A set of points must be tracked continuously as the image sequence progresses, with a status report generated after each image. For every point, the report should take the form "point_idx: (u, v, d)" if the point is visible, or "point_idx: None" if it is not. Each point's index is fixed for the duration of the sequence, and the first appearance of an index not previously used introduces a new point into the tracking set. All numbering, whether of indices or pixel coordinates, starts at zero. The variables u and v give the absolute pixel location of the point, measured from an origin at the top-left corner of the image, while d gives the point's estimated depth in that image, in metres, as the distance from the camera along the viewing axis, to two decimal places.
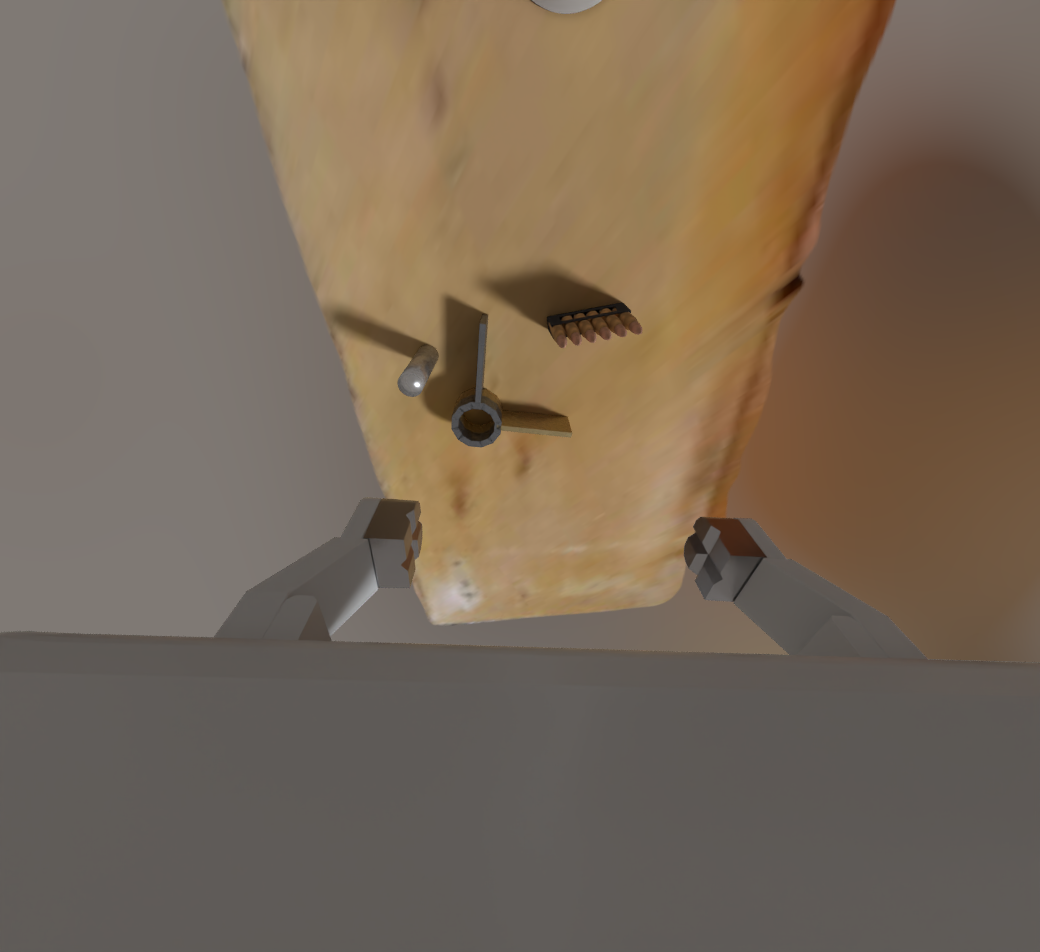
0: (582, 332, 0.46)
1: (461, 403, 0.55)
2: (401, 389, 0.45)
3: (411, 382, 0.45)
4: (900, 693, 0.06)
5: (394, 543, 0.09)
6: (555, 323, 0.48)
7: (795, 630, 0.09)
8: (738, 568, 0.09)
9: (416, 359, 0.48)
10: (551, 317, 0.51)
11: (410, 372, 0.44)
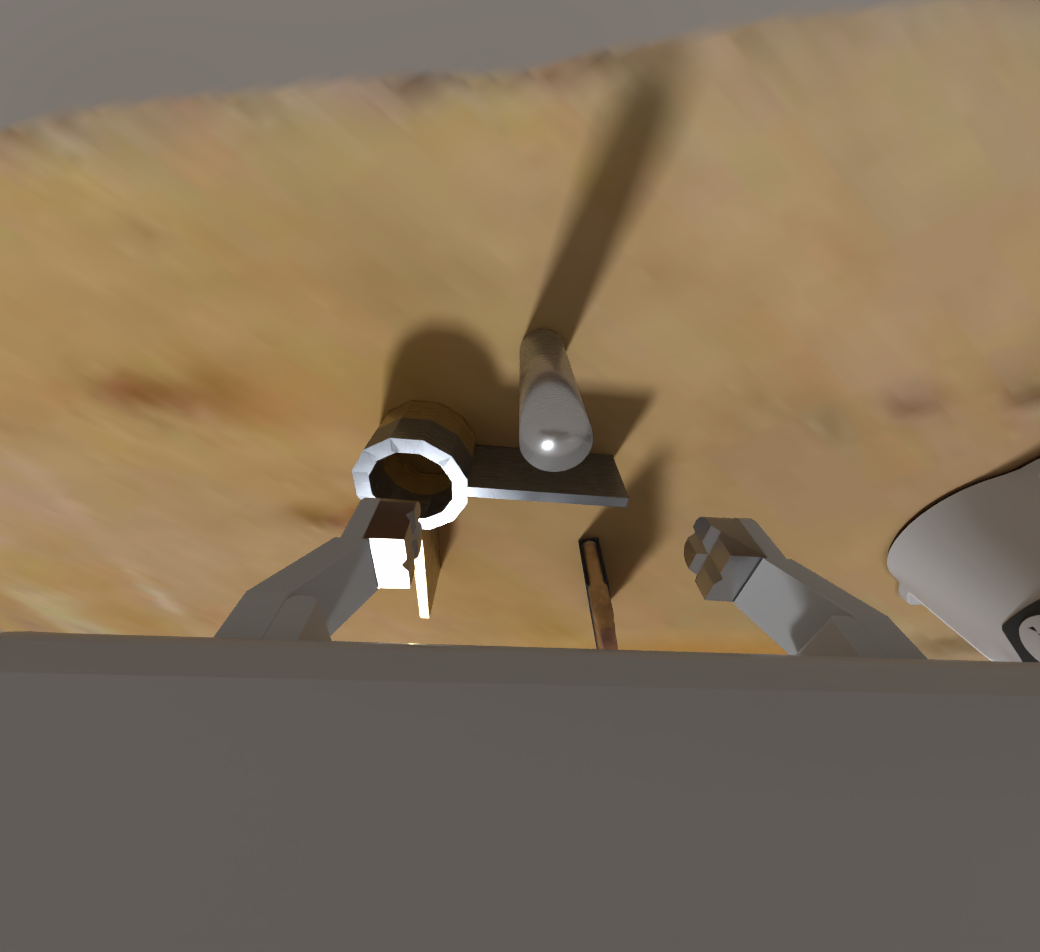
0: None
1: (456, 451, 0.24)
2: (542, 415, 0.14)
3: (564, 445, 0.15)
4: (900, 693, 0.06)
5: (394, 543, 0.09)
6: None
7: (795, 630, 0.09)
8: (738, 568, 0.09)
9: None
10: None
11: (591, 442, 0.15)
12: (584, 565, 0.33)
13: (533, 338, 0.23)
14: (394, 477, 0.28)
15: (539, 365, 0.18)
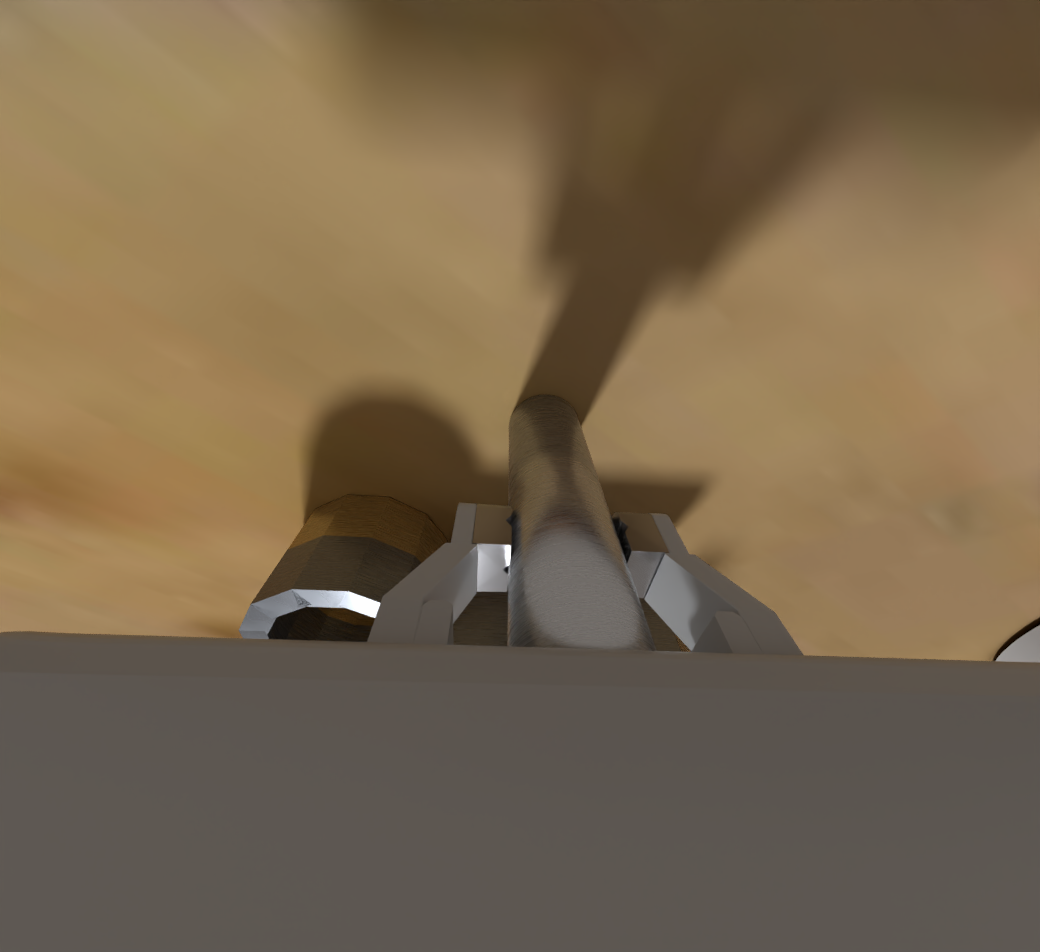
0: None
1: None
2: None
3: None
4: (900, 693, 0.06)
5: (502, 548, 0.09)
6: None
7: (694, 627, 0.09)
8: (642, 564, 0.09)
9: None
10: None
11: None
12: None
13: (531, 417, 0.14)
14: None
15: (545, 504, 0.09)
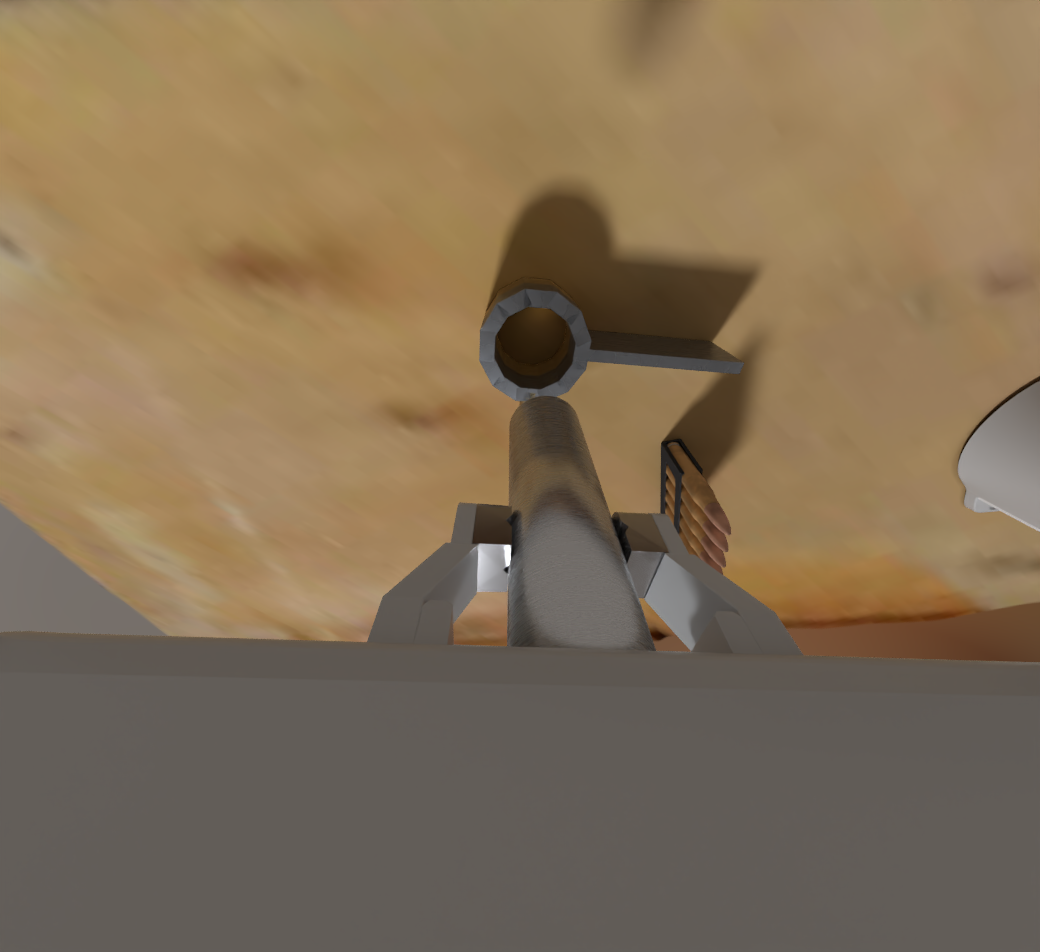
0: None
1: None
2: None
3: None
4: (900, 693, 0.06)
5: (502, 548, 0.09)
6: None
7: (694, 627, 0.09)
8: (642, 564, 0.09)
9: None
10: (684, 447, 0.35)
11: None
12: (674, 459, 0.33)
13: (531, 418, 0.14)
14: (502, 357, 0.28)
15: (546, 505, 0.09)
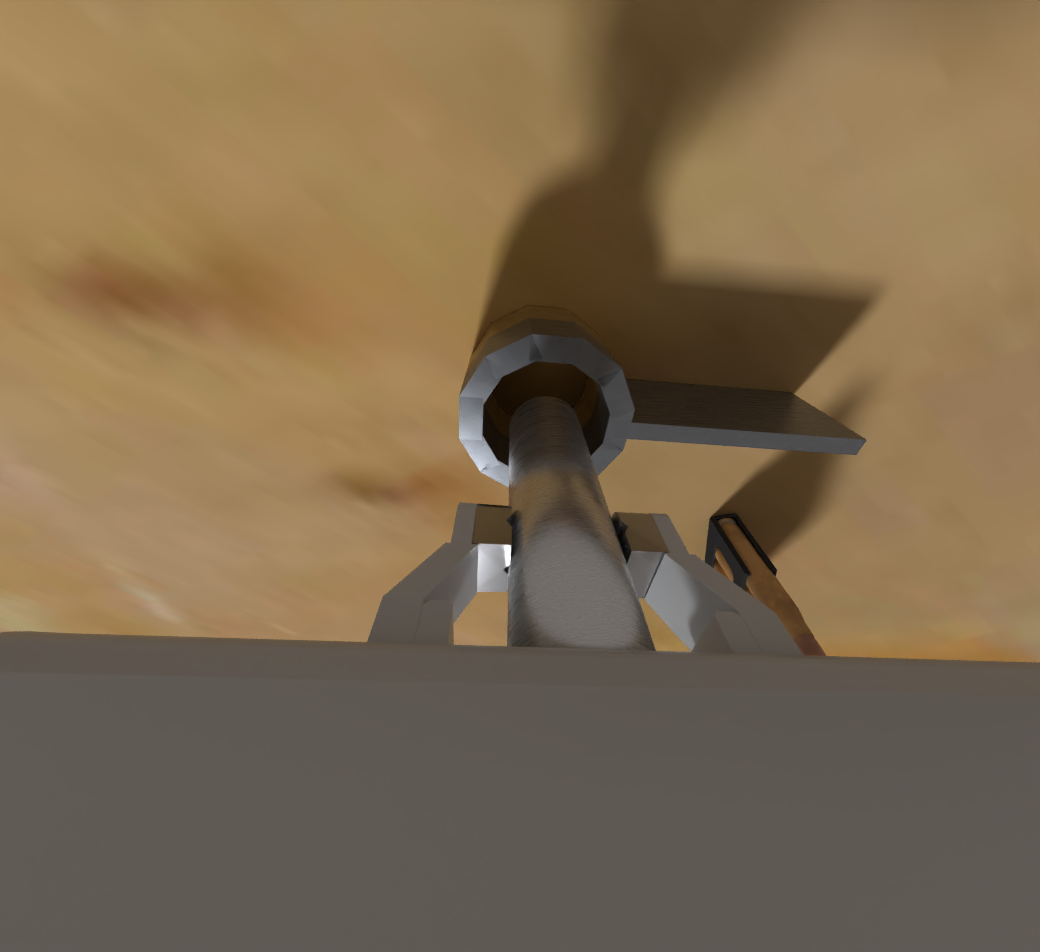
0: None
1: None
2: None
3: None
4: (900, 693, 0.06)
5: (502, 548, 0.09)
6: None
7: (694, 627, 0.09)
8: (642, 564, 0.09)
9: None
10: None
11: None
12: (732, 549, 0.24)
13: (531, 419, 0.14)
14: (495, 421, 0.19)
15: (546, 505, 0.09)
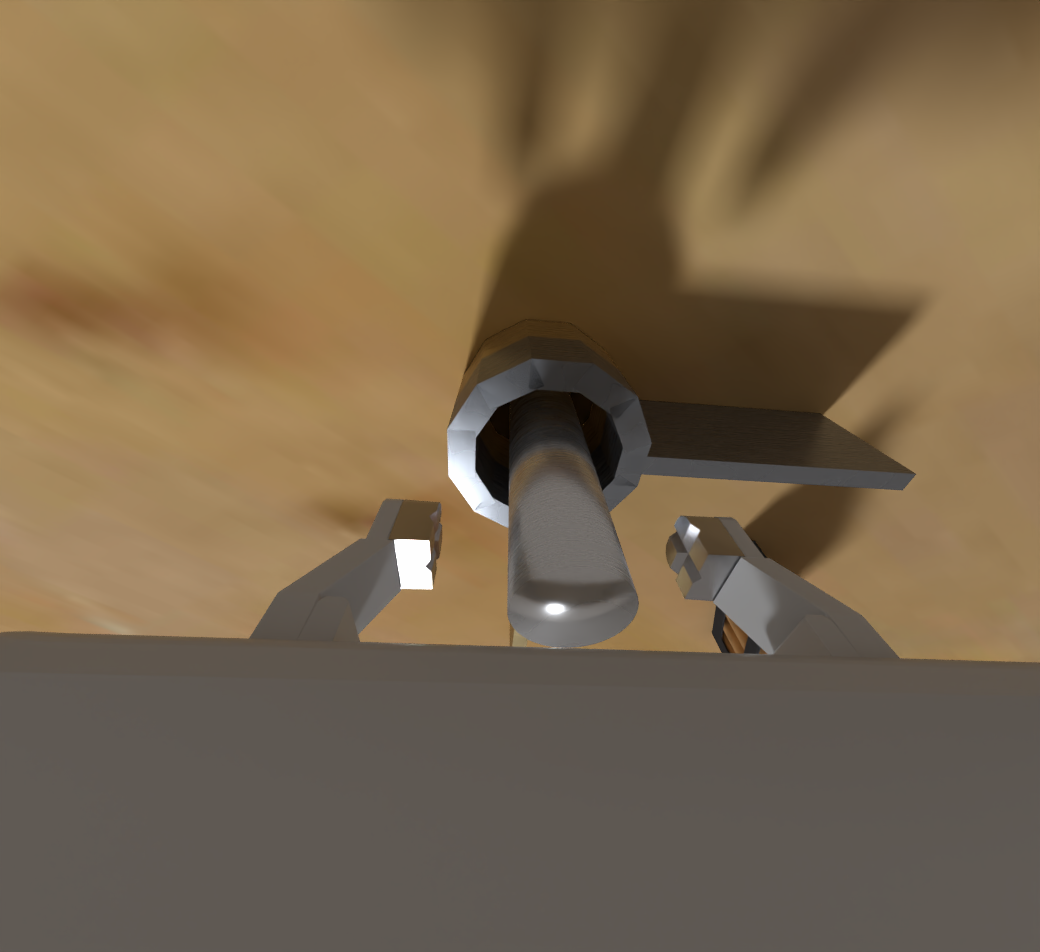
0: None
1: None
2: (548, 578, 0.08)
3: (586, 616, 0.09)
4: (900, 693, 0.06)
5: (419, 544, 0.09)
6: None
7: (772, 629, 0.09)
8: (716, 567, 0.09)
9: None
10: None
11: None
12: None
13: None
14: (491, 449, 0.17)
15: (538, 446, 0.12)
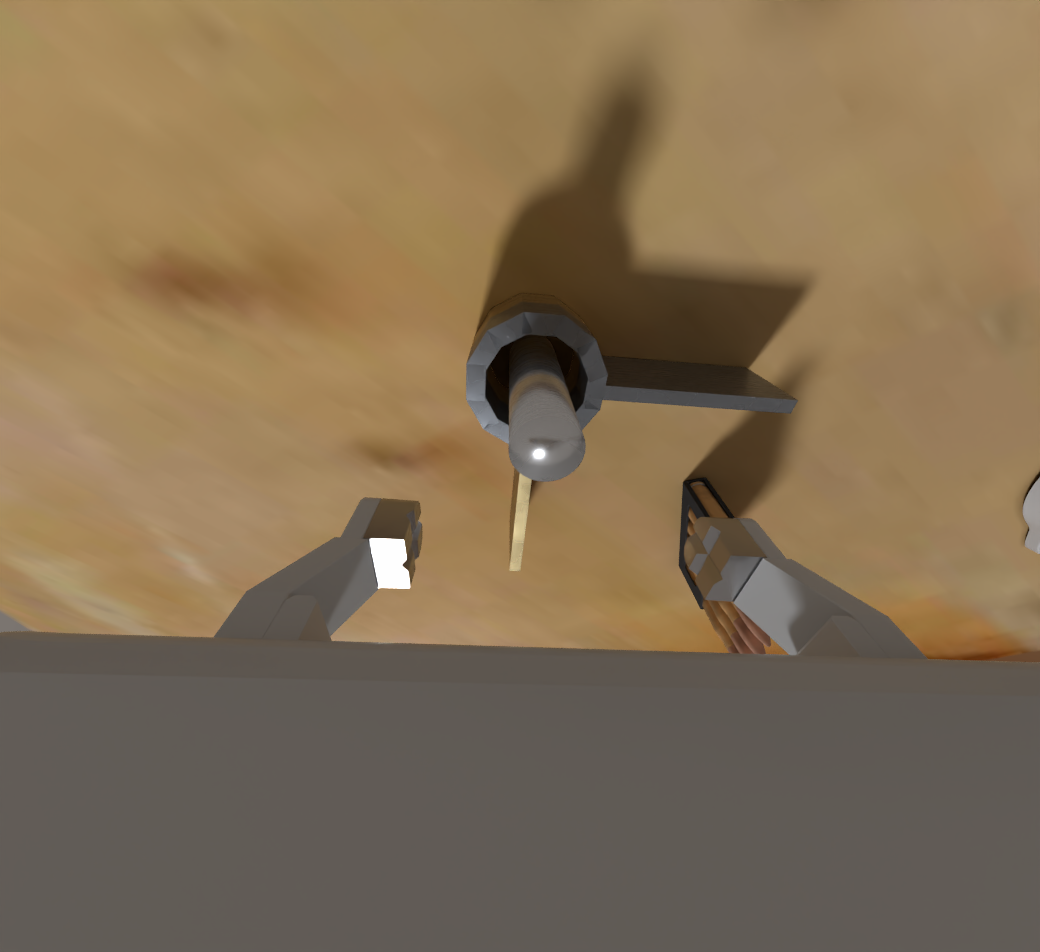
0: None
1: None
2: (532, 423, 0.14)
3: (555, 454, 0.15)
4: (900, 693, 0.06)
5: (394, 543, 0.09)
6: None
7: (795, 630, 0.09)
8: (738, 568, 0.09)
9: None
10: (710, 488, 0.30)
11: (583, 450, 0.15)
12: (700, 505, 0.28)
13: (523, 343, 0.22)
14: (495, 390, 0.23)
15: (529, 371, 0.18)
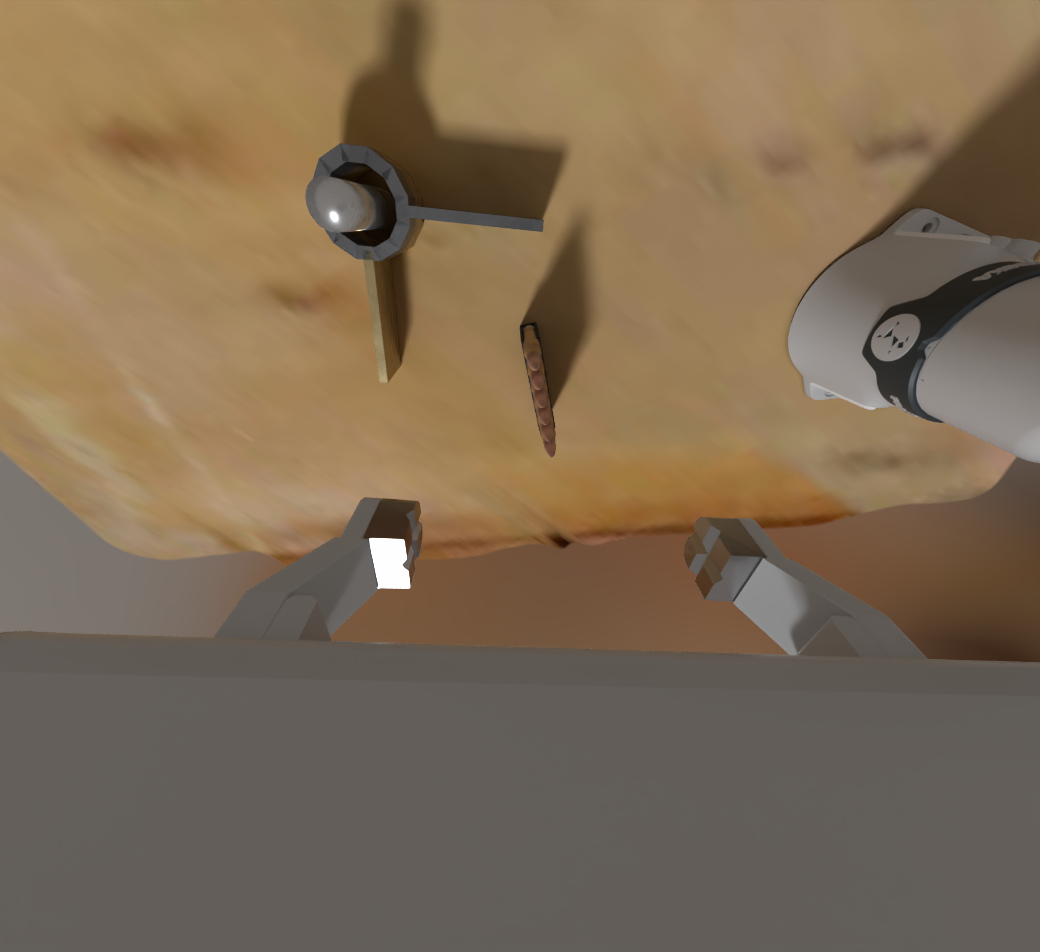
0: None
1: (398, 172, 0.29)
2: (315, 182, 0.24)
3: (336, 208, 0.24)
4: (900, 693, 0.06)
5: (394, 543, 0.09)
6: None
7: (795, 630, 0.09)
8: (738, 568, 0.09)
9: (375, 204, 0.28)
10: None
11: (354, 208, 0.24)
12: (521, 334, 0.38)
13: None
14: None
15: None
